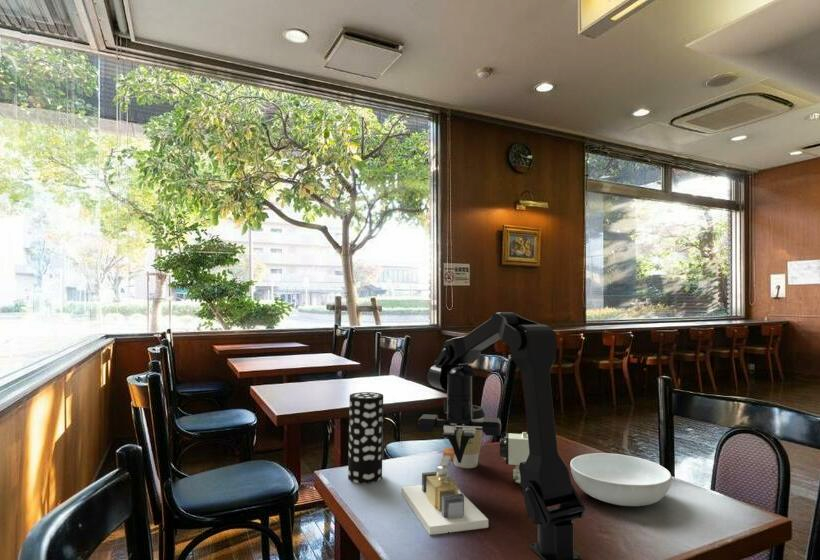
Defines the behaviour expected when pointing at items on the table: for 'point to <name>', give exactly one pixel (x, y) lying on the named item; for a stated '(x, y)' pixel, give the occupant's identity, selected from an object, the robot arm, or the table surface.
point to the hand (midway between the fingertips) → (459, 462)
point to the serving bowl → (620, 478)
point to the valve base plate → (433, 516)
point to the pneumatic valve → (515, 451)
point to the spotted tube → (365, 437)
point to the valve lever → (445, 463)
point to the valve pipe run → (443, 495)
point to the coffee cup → (471, 443)
